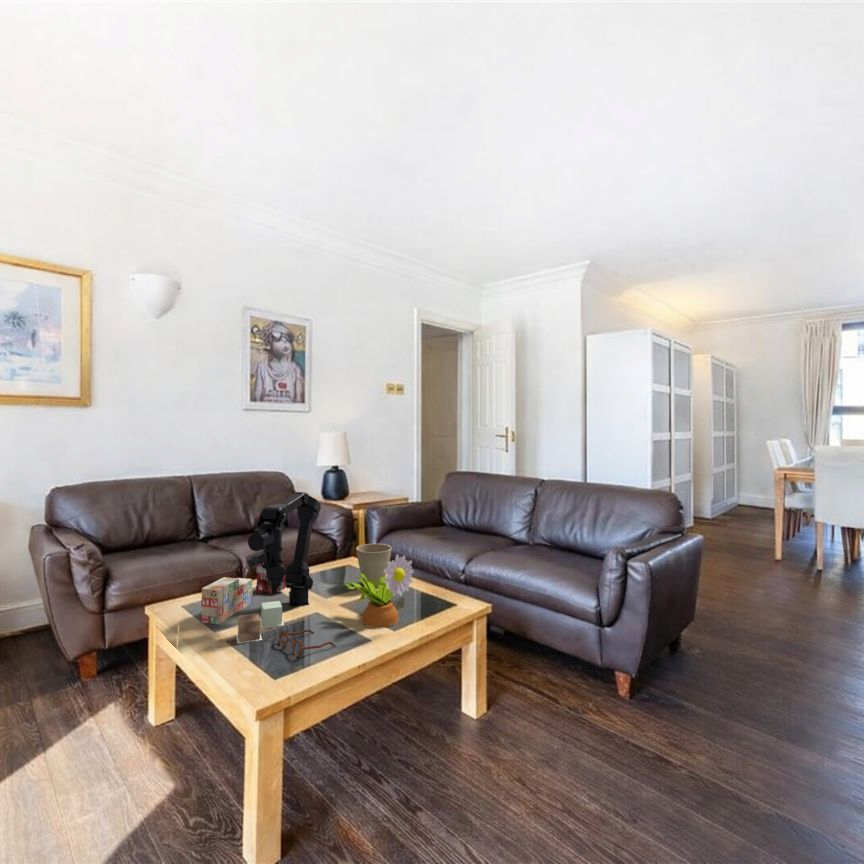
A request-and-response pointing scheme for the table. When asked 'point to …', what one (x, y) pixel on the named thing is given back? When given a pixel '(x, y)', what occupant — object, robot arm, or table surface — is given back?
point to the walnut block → (248, 627)
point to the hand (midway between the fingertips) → (271, 589)
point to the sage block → (271, 613)
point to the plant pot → (373, 560)
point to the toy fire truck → (266, 581)
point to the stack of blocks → (225, 599)
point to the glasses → (300, 642)
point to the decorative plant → (384, 593)
